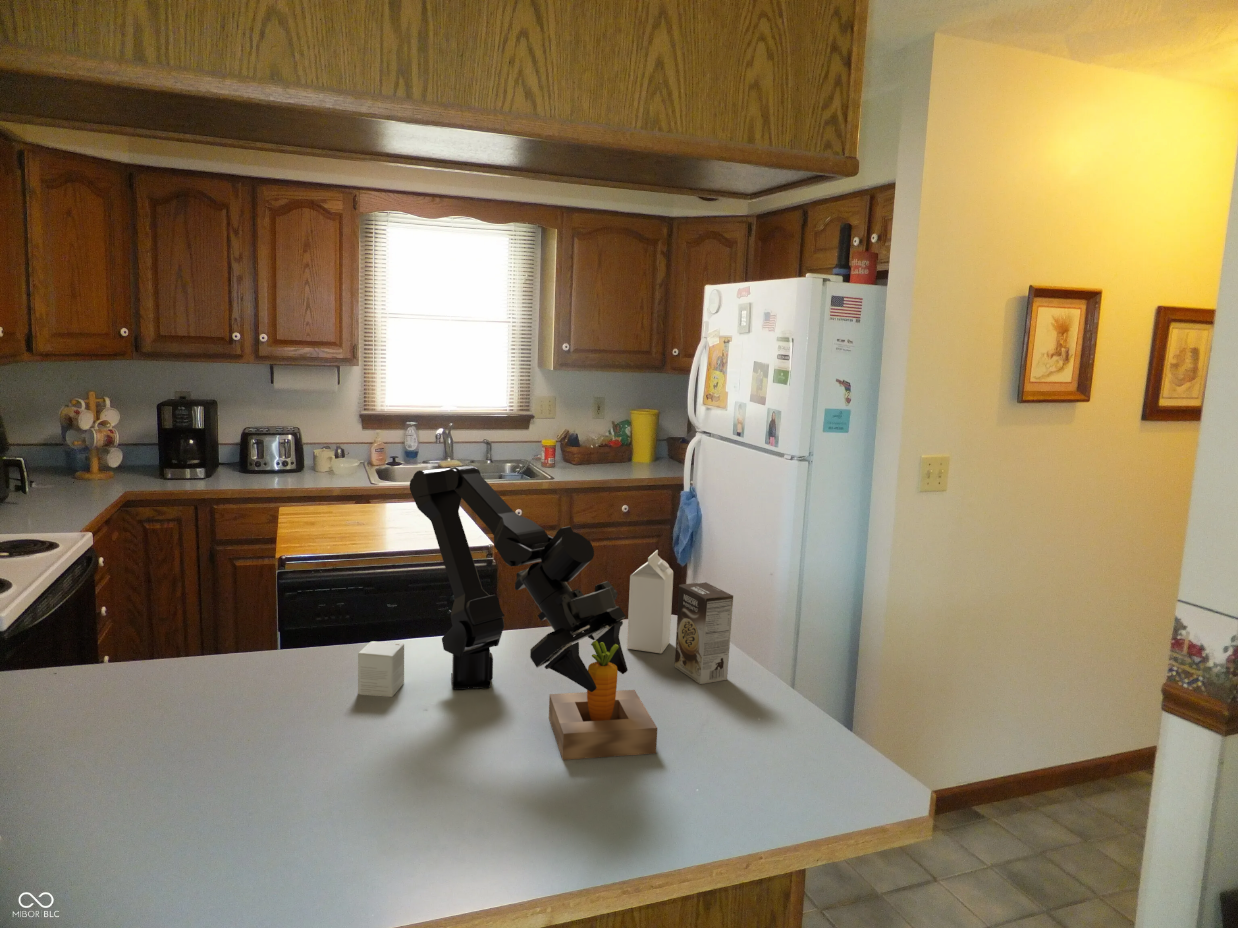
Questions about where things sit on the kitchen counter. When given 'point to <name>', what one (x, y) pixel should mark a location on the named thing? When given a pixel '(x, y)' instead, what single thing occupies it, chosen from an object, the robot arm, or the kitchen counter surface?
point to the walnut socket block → (601, 727)
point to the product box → (380, 669)
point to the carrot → (602, 683)
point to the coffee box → (703, 632)
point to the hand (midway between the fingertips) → (610, 681)
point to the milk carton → (650, 606)
